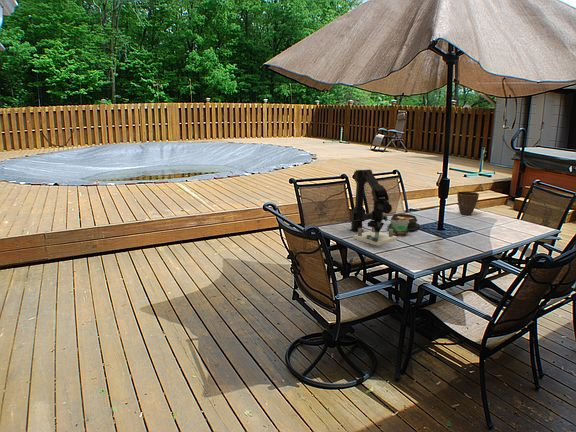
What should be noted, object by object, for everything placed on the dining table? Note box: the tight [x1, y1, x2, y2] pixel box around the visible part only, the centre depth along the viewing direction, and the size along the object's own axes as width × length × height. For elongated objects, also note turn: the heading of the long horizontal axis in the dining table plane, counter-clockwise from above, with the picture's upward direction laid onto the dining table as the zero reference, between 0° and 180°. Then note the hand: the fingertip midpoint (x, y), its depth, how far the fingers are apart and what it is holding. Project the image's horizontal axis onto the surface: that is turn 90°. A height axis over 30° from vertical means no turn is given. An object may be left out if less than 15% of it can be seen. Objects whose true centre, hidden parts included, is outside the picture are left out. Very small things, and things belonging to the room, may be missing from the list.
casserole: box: [387, 213, 421, 232], centre depth 282 cm, size 25×19×8 cm
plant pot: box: [456, 191, 480, 217], centre depth 319 cm, size 15×15×16 cm
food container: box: [390, 218, 409, 237], centre depth 267 cm, size 12×6×10 cm, turn 105°
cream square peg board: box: [352, 227, 398, 247], centre depth 260 cm, size 18×18×6 cm
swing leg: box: [367, 232, 379, 239], centre depth 253 cm, size 9×3×5 cm, turn 39°
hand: (376, 235), depth 253 cm, fingers closed
